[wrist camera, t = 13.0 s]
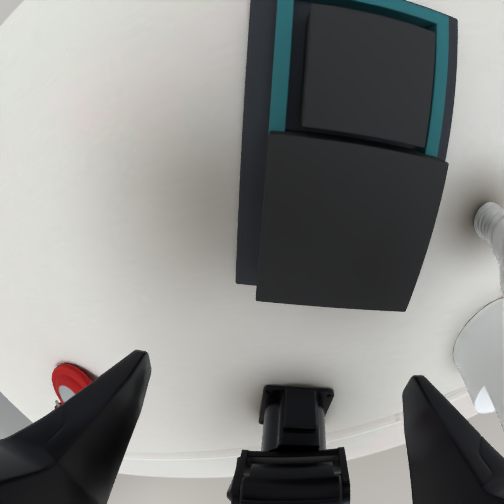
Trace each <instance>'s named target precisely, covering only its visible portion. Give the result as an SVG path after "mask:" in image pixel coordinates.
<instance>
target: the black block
mask: <svg viewBox="0 0 504 504" xmlns="http://www.w3.org/2000/svg"><path fill="white" fill-rule="evenodd" d="M434 58H435V33H434V32H432V31H429V30H426V29H423V28H420V27H417V26H414V25H411V24H408V23H404V22H401V21H397V20H394V19H390V18H386V17H382V16H378V15H374V14H370V13H365V12H360V11H356V10H351V9H345V8H340V7H334V6H327V5H320V4H311V6H310V10H309V13H308V16H307V19H306V35H305V51H304V65H303V78H302V91H301V103H300V115H299V122H300V124H301V125H302V126H303V127H307V128H315V129H323V130H330V131H337V132H344V133H350V134H356V135H362V136H368V137H374V138H379V139H384V140H389V141H394V142H399V143H404V144H409V145H413V146H417V147H422V148H424V147H425V143H426V136H427V129H428V122H429V115H430V106H431V97H432V87H433V74H434Z"/></svg>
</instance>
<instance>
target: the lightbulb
mask: <svg viewBox="0 0 504 504" xmlns="http://www.w3.org/2000/svg"><path fill="white" fill-rule="evenodd" d="M474 228H475V231H476V233H477V235H478V236H480V237H481V238H482V239H483V240H484V241H485V242H486V243H487V244H488V245H489V246H490V247H491V248H492V250H493V253H494V256H495V257H496V259H497V261H498V263H499V273H500V286H501V291H502V295H503V299H504V209H503V208H502V207H501V206H499V205H498V204H496V203H494V202H488V203H485V204H484V205H482V206H481V207H480V209H479V210H478V212H477V213H476V216H475V220H474Z"/></svg>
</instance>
